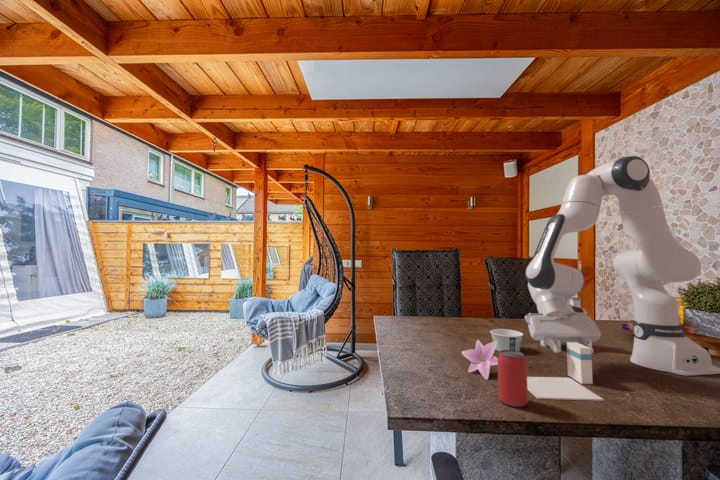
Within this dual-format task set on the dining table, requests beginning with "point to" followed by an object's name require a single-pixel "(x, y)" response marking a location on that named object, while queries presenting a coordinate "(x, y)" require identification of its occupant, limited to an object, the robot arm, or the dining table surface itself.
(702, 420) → the dining table surface
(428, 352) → the dining table surface
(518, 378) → the beer can
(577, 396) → the mat
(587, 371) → the card box
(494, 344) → the lily
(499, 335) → the food container
